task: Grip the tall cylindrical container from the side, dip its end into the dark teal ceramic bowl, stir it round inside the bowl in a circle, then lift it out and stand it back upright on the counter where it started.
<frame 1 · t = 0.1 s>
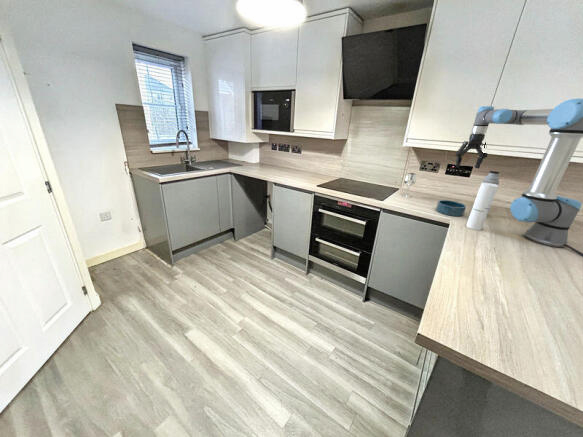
hand: (467, 167, 155), 28 cm above the worktop, tool pointing down, fingers open, 13 cm apart
cylindrical container: (473, 227, 133), on the worktop
wineglass: (406, 196, 188), on the worktop
thermos bottle: (478, 213, 156), on the worktop
bowl: (449, 212, 156), on the worktop
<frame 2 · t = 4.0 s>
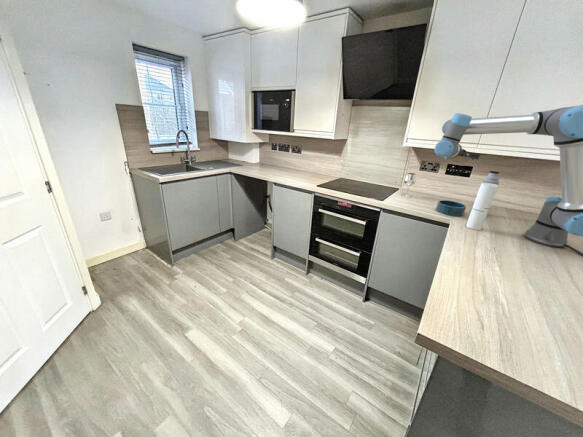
hand: (461, 151, 133), 39 cm above the worktop, tool horizontal, fingers open, 13 cm apart
nothing on the worktop moved.
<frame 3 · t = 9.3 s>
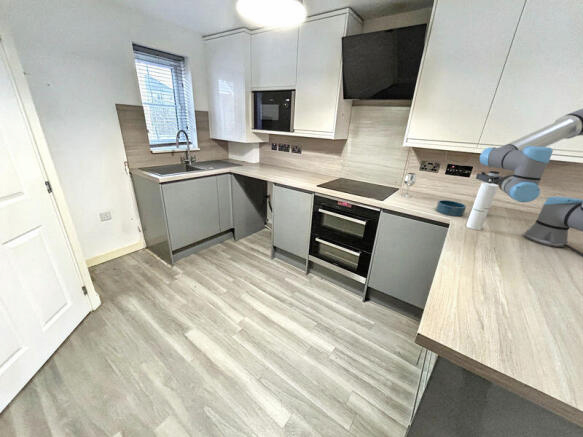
hand: (498, 176, 113), 31 cm above the worktop, tool horizontal, fingers open, 13 cm apart
nothing on the worktop moved.
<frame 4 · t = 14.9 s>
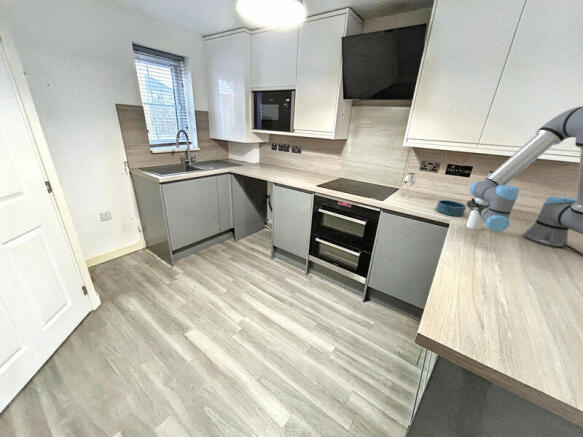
hand: (480, 201, 132), 14 cm above the worktop, tool horizontal, fingers closed on cylindrical container, 7 cm apart
cylindrical container: (473, 227, 133), on the worktop, touching gripper
everything else where it was.
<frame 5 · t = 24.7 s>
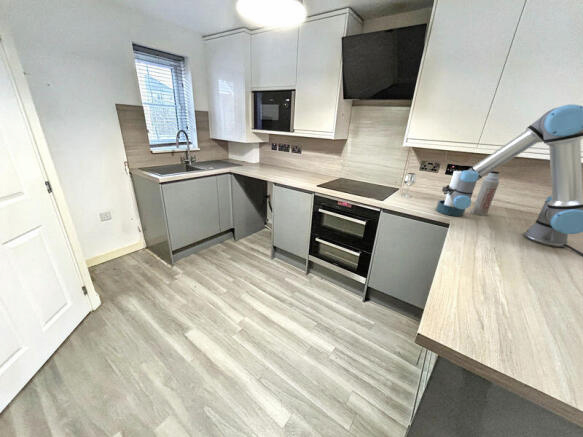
hand: (454, 187, 153), 16 cm above the worktop, tool horizontal, fingers closed on cylindrical container, 7 cm apart
cylindrical container: (448, 210, 154), point 2 cm above the worktop, touching gripper
everything else where it was.
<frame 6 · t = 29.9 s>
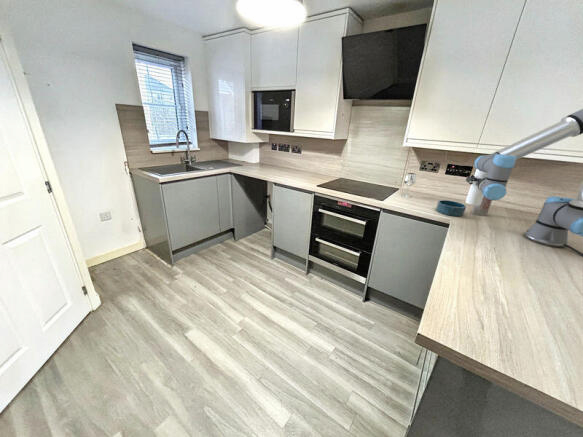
hand: (479, 177, 134), 26 cm above the worktop, tool horizontal, fingers closed on cylindrical container, 7 cm apart
cylindrical container: (472, 203, 135), point 12 cm above the worktop, touching gripper
everything else where it was.
when the fingers open (14 cm above the worktop, at t = 34.5 s): cylindrical container stays where it is, on the worktop.
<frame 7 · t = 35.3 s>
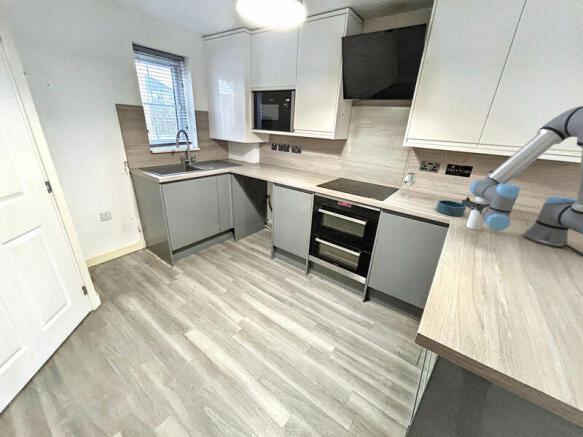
hand: (481, 201, 130), 15 cm above the worktop, tool horizontal, fingers open, 13 cm apart
cylindrical container: (473, 227, 133), on the worktop
everything else where it was.
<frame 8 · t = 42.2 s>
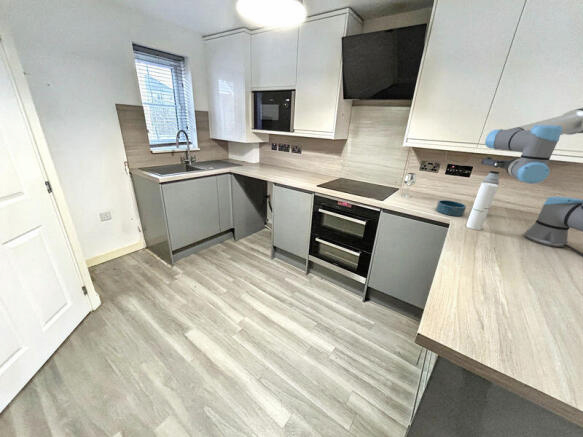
hand: (504, 161, 111), 38 cm above the worktop, tool horizontal, fingers open, 13 cm apart
nothing on the worktop moved.
at the end: cylindrical container inside the target area on the worktop beside the bowl (0.0 cm from its centre), on the worktop; cylindrical container tilted 0°; the gripper is holding nothing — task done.
